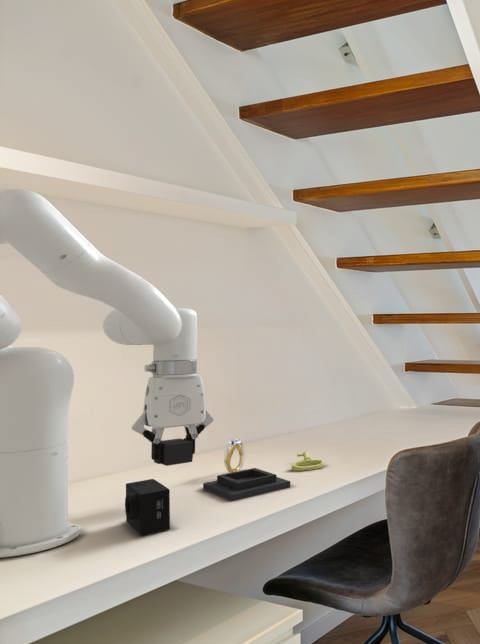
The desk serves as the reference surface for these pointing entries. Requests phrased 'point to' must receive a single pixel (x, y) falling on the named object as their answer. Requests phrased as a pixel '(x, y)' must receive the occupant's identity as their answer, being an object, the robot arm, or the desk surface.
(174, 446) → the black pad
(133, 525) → the digital camera
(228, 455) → the ring
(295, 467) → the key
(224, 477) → the base pad
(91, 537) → the desk surface
